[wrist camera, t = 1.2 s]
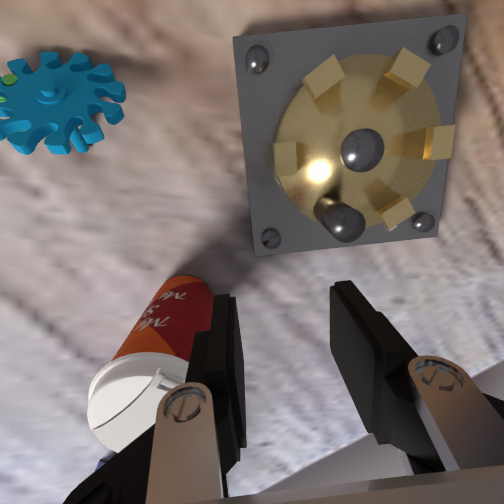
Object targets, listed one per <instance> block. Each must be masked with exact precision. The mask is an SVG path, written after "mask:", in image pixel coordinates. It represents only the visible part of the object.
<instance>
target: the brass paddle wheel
mask: <svg viewBox="0 0 504 504" xmlns="http://www.w3.org/2000/svg"><path fill="white" fill-rule="evenodd" d="M430 65H431V64H430V63H428V62H426V61H425V60H423V59H422V58H420V57H418V56H417V55H415V54H414V53H412V52H410V51H409V50H407V49H405V48H404V47H402V48H400V49H398V50H397V51H395V53H394V55H393V57H389V56H385V55H378V54H362V55H356V56H351V57H348V58H345V59H342V60H339V61H337V59H336V57H335V55H334V54H333V55H332V56H331V57H329V58H328V59H327V60H326V61H324V62H323V63H322V64H321V65H319V66H318V67H317V68H315V69H314V70H313V71H312V72H310V73H309V74H308V75H307V76H305V77H304V78H303V79H302V80H301V81H302V82H303V84H304V85H303V86H302V87H301V88H300V89H299V90H298V91H297V93H296V94H295V95H294V96H293V98H292V99H291V100H290V102H289V103H288V105H287V107H286V109H285V111H284V113H283V115H282V117H281V120H280V122H279V125H278V129H277V133H276V137H275V143H273V153H274V168H275V176H276V177H278V178H279V181H280V183H281V185H282V187H283V189H284V191H285V193H286V194H287V196H288V197H289V198H290V200H291V201H292V202H293V203H294V204H295V205H296V207H297V208H298V209H299V210H301V211H302V212H303V213H304V214H305V215H306V216H308V217H309V218H310V219H312V220H314V221H316V222H317V223H319V224H321V225H322V226H323V227H324V228H325V229H326V230H327V231H328V232H329V233H330V234H331V235H332V236H333V237H334V238H335V239H336V240H338V241H339V242H343V243H350V242H353V241H355V240H357V239H358V238H359V237H360V236H361V235H362V234H363V232H364V230H365V228H368V227H371V226H374V225H377V224H380V223H382V224H383V225H384V227H386V228H388V229H389V230H390V229H391V228H393V227H394V226H396V225H398V224H399V223H401V222H402V221H404V220H405V219H407V218H409V217H410V216H412V215H413V214H415V211H414V209H413V207H412V205H411V202H412V201H413V200H414V199H415V198H416V196H417V195H418V194H419V193H420V191H421V190H422V189H423V187H424V186H425V184H426V183H427V181H428V179H429V177H430V176H431V173H432V171H433V169H434V166H435V164H436V161H437V160H439V159H448V158H451V155H452V148H453V141H454V133H455V126H456V125H444V126H441V117H440V112H439V107H438V104H437V101H436V98H435V96H434V94H433V92H432V90H431V88H430V87H429V85H428V84H427V82H426V81H425V80H424V76H425V74H426V72H427V70H428V69H429V67H430Z"/></svg>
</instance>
